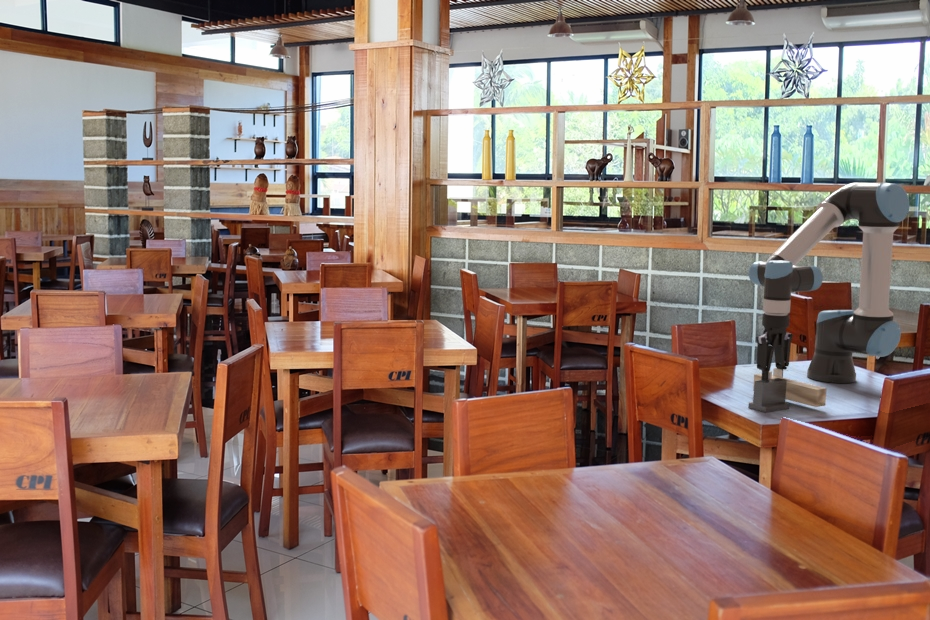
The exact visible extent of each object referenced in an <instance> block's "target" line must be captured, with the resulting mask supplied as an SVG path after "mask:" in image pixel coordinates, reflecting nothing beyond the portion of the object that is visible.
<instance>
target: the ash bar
mask: <svg viewBox="0 0 930 620" xmlns="http://www.w3.org/2000/svg"><path fill="white" fill-rule="evenodd" d="M774 378H781V379H785V380H787V386H786V398H785V401H786V400H787V401H790V402H795V403H798V404H803V405H807V406H810V407H814V408H820V407H824V406H826V400H827V387H824V386H819V385H814V384H811V383H807V382H802V381H798V380H794V379H790V378H786V377H783V378H782V377H777V376H773V374H772V379H774ZM761 379H762V372H760V373H755V374H754V375H753V384H754V383H755V381H759V380H761ZM752 391H753V392H754V385H753V389H752Z"/></svg>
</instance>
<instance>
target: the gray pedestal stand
mask: <svg viewBox="0 0 930 620" xmlns="http://www.w3.org/2000/svg"><path fill="white" fill-rule="evenodd" d="M753 386H754V391H753V396H752V397H753V398H752V401H751V402H750V401H749V402H748V404H747V405H748V409H751V410H755V411H757V412H759V411H760V412H763V413H765V414H766V413H770V412H776V411H782V410H788V409H790V403H789V402H786V399H785V398H786V386H787V380H785V379H781V378H774V379H767V380H759V381H755V383H754V382H753Z"/></svg>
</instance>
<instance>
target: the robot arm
mask: <svg viewBox="0 0 930 620" xmlns="http://www.w3.org/2000/svg"><path fill="white" fill-rule="evenodd" d="M909 212H910V199H909V195H908V192H907V191H906V190H905V189H904V187H903V186H902V185H900V184H897V183H891V182H861V181H860V182H850V183H848V184H845V185H843V186H841V187H840V188H837V189H836V190H834V191H832V192H831V193H830V194H829V195H827V196H826V197H824V198H823V200H821V201H820V202H819V203H818V204H817V205H816V211H815V212H813V213H812V214H811V216H810V217H808V219H807V220H806V221H804V222H803V223H802V224H801V225H800V226H799V227H798V228H797V229H796V230H795V231H793V233H792V234H791V235H790V236H789V237H788V238H787V239H786V240H785V241H784V242H783V243H782V244H781V245H780V246H779V247H778V248H777V249H776V250H775V251H774V252H773V253H772V254H770V256H769V257H768V258H766V259H765V260H759V261H758V260H756V261H754V262H753V263H751V265H750V266H749V269H748V278H749V280H750V281H751V283H752V284H754V285H756V286H757V285H758V286H760V287H763V288H764V289H763V304H762V305H763V306H762V307H763V308H762V312H764V313H763V314H762V317H761V319H762V321H761V325H762V326H763V328H764V329H763V333H762V334H761V335H759V336H758V335H757V336H756V343H757V349H756V352H757V353H756V369H757V370H760V371H761V373H762V379H761V380H767V379H772V375H773V376H777V377H782V378H784V370H787V369H788V367H789V366H790V357H791V356H790V355H791V344H792V339H793V337H794V334H793V333H790V332H787V329H788V328H789V326H790V315H789V314H790V313H791V302H792V301H791V300H792V299H791V297H792V293H798V292H800V293H801V292H807V293H808V292H811V291H812V292H813V291H816V290H818V289H819V288H820V287H821V286H822V284H823V277H824V276H823V273H822V271H821V269H820V268H819V267H817V266H815V265H798V263H800V262H801V261H802V260H803V258H805V257H806V256H807V255H808V254H809V253H810V252H811V251H812V250H813V249H814V248H815V247H816V246H817V245H818V244H819V243H820V242H821V241H822V240H823V239H824V238H825V237H826V236H827V235H828V234H829V233H830V232H831V231H832V230H833V229H834V228H838V227H841V226H842V225H843V224H844V223H845V222H847V221H850V220H858V228H859V229H860V230H861V231H862V246H861V247H862V248H861V261H860V262H861V263H860V264H861V265H860V266H861V267H860V279H859V281H860V282H859V297H858V298H859V299H858V307H857V308H856V309H855V310H854V309H833V310H832V309H828V310H822V311H819V312H818V315H817V320H816V323H815V324H816V327H815V342H814V343H815V344H814V353H813V356H812V358H811V361H810V364H809V365H808V368H807V373H806V376H807V378H809V379H811V380H814V381H818V382H824V383H833V384H834V383H835V384H852V383H855V382H857V381H856V380H857V372H856V369H855V364H854V359H853V353H858V354H863V355H868V356H870V357H880V358H882V357H887V356H890V355H891V354H892V353H894V351H895V349H896V348H897V347H898V345H899V344H900V341H901V337H902V335H901V334H902V330H901V327H900V325H899V324H898V323H897V322H896V321H894V312H893V311H891V310H890V308H889V306H890V305H889V304H890V291H891V289H890V288H891V273H892V259H893V242H894V233H895V231H896V230H897V229H899V228H900V223H901V222H902V221H904V220H905V219H906V218H907V215H908V214H909ZM773 358H774V361H775V362H774V363H775V367H774V368H773V369H772V371H771V366H772V362H773Z"/></svg>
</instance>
